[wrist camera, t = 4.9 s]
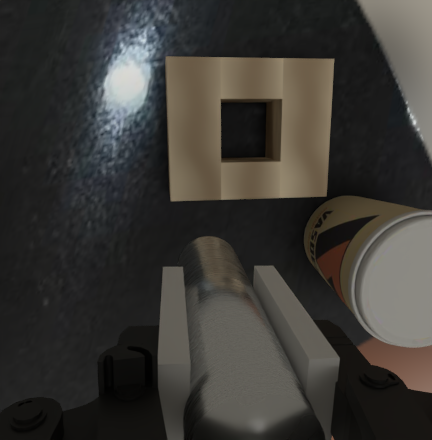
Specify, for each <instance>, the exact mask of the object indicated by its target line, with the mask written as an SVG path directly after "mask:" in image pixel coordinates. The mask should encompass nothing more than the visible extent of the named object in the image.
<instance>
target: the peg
mask: <svg viewBox="0 0 432 440" xmlns="http://www.w3.org/2000/svg"><path fill="white" fill-rule="evenodd" d="M177 267H183V274H184V287H185V300H186V312H187V325H188V337H189V350H190V363H191V369H190V395H189V397H188V399H187V402H186V404H185V408H184V414H183V431H184V440H326V439H325V434H324V431H323V428H322V426H321V424H320V422H319V420H318V418H317V416H316V414H315V412H314V410H313V408H312V406H311V404H310V402H309V400H308V398H307V396H306V394H305V392H304V390H303V388H302V386H301V384H300V382H299V380H298V378H297V376H296V374H295V372H294V370H293V368H292V366H291V364H290V362H289V360H288V358H287V356H286V354H285V352H284V350H283V348H282V346H281V344H280V342H279V340H278V338H277V336H276V334H275V332H274V330H273V328H272V326H271V324H270V322H269V320H268V318H267V316H266V314H265V312H264V310H263V308H262V306H261V304H260V302H259V300H258V298H257V296H256V293H255V291H254V289H253V287H252V285H251V283H250V281H249V279H248V277H247V275H246V273H245V271H244V269H243V267H242V265H241V263H240V261H239V259H238V257H237V255H236V253H235V251H234V250H233V248H232V247H231V246H230V245H229V244H228V243H227V242H226V241H224V240H222V239H220V238H217V237H211V236H206V237H200V238H197V239H195V240H193V241H191V242H190V243H189V244H187V245H186V246H185V247H184V249H183V250H182V252H181V254H180V256H179V259H178V266H177Z"/></svg>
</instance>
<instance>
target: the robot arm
mask: <svg viewBox="0 0 432 440" xmlns="http://www.w3.org/2000/svg"><path fill="white" fill-rule="evenodd" d="M253 289H254V291H255V293H256V296H257V298H258V300H259V302H260V304H261V306H262V308H263V310H264V312H265V314H266V316H267V318H268V320H269V322H270V324H271V326H272V328H273V330H274V332H275V334H276V336H277V338H278V340H279V342H280V344H281V346H282V348H283V350H284V352H285V354H286V356H287V358H288V360H289V362H290V364H291V366H292V368H293V370H294V372H295V374H296V376H297V378H298V380H299V382H300V384H301V386H302V388H303V390H304V392H305V394H306V396H307V398H308V400H309V402H310V404H311V406H312V408H313V410H314V412H315V414H316V416H317V418H318V420H319V422H320V424H321V426H322V428H323V431H324V434H325V439H326V440H331V437H332V436H333V438H334V440H432V393H428V392H422V391H415V390H411V389H408V388H407V387H406V385H405V384H404V382H403V381H402V380H401V379H400V378H399V377H398V376H397V375H396V374H394V373H393V372H391V371H389V370H387V369H384V368H381V367H378V366H374V365H370V363H369V362H368V361H367V360H366V359H365V357H364V356H363V355H362V354H361V353H360V351H359V350H358V349H357V348H356V346H355V345H353V343H352V341H351V340H350V339H349V338H347V335H346V334H345V333H344V332H343V331H342V329H341V328H340V327H338V326H337V325H335V324H333V323H332V322H330V321H328V320H312V319H311V317H310V316H309V315H308V313H307V312H306V310H305V309H304V308H303V306H302V305H301V304H300V302H299V301H298V299H297V298H296V297H295V295H294V294H293V292H292V291H291V290H290V288H289V287H288V286H287V284H286V283H285V281H284V280H283V279H282V277H281V276H280V274H279V273H278V272H277V270H276V269H275V268H274V266H254V283H253ZM190 369H191V363H190V350H189V337H188V325H187V312H186V300H185V287H184V274H183V267H163V277H162V293H161V310H160V326H129V327H128V328H127V329H125V330H124V331H123V332H122V333H121V334H120V336H119V340H118V344H117V346H114V347H112V348H110V349H108V350H106V351H105V352H104V353H103V354H101V355H100V357H99V360H98V385H99V397H98V398H97V399H95V400H94V401H92V402H90V403H88V404H86V405H83V406H80V407H77V408H74V409H70V410H66V411H62V408H61V406H60V403H58V402H57V401H55V400H53V399H50V398H44V397H37V398H29V399H25V400H22V401H19V402H16V403H14V404H13V405H11V406H9V407H7V408H6V409H4V410H3V411H2V412H1V413H0V440H184V431H183V414H184V408H185V404H186V402H187V399H188V397H189V395H190Z"/></svg>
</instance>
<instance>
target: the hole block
mask: <svg viewBox="0 0 432 440" xmlns="http://www.w3.org/2000/svg"><path fill="white" fill-rule="evenodd" d="M333 70H334V59H298V58H232V57H166V62H165V79H166V109H167V139H168V169H169V193H170V200H171V201H197V200H229V199H261V198H293V197H325V196H327V179H328V161H329V143H330V125H331V107H332V88H333ZM221 102H266V150H265V157H251V158H221Z"/></svg>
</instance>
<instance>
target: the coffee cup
mask: <svg viewBox="0 0 432 440" xmlns="http://www.w3.org/2000/svg"><path fill="white" fill-rule="evenodd" d="M304 247H305V251H306V255H307V257H308V259H309V260H310V262H311V263H312V265H313V266H314V267H315V269H316V270H317V271H318V272H319V274H320V275H321V276H322V277H323V278H324V280H325V281H326V282H327V283H328V284H329V285H330V287H331V288H332V289H333V290H334V291H335V293H336V294H337V295H338V296H339V297H340V298H341V300H342V301H343V302H344V303H345V304H346V306H347V307H348V308H349V309H350V310H351V311H352V312H353V313H354V315H355V317H356V318H357V320H358V321H359V322H360V324H361V325H362V326H363V328H364V329H365V330H366V331H367V332H369V333H370V334H371V335H372V336H374V337H375V338H377V339H379V340H381V341H383V342H385V343H389V344H392V345H396V346H403V347H424V346H429V345H432V211H431V210H421V209H416V208H412V207H408V206H403V205H398V204H393V203H388V202H383V201H378V200H373V199H368V198H363V197H358V196H340V197H336V198H333V199H331V200H329V201H327V202H325V203H324V204H322V205H321V206H320V207H318V208H317V209H316V210H315V212H314V213H313V214H312V216H311V217H310V219H309V221H308V223H307V225H306V228H305V233H304Z"/></svg>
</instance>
